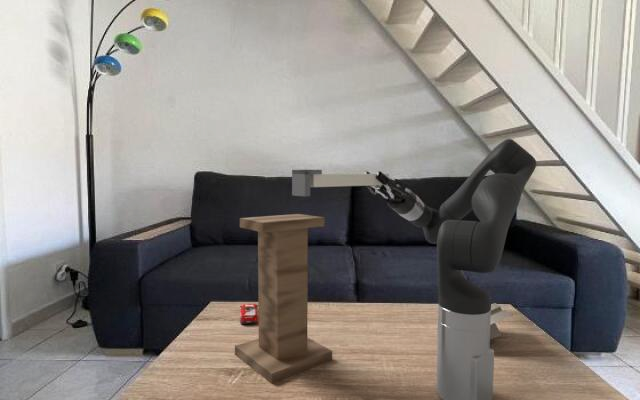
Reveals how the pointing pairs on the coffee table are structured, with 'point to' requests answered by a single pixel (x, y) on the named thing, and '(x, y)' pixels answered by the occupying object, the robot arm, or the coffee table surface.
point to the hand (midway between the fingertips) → (371, 174)
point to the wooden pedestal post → (282, 298)
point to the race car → (249, 313)
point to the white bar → (328, 180)
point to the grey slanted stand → (496, 319)
